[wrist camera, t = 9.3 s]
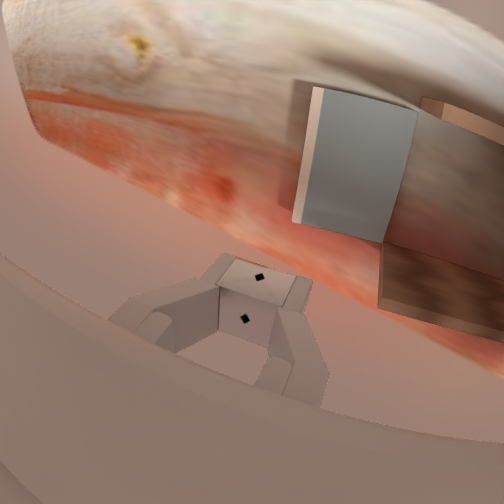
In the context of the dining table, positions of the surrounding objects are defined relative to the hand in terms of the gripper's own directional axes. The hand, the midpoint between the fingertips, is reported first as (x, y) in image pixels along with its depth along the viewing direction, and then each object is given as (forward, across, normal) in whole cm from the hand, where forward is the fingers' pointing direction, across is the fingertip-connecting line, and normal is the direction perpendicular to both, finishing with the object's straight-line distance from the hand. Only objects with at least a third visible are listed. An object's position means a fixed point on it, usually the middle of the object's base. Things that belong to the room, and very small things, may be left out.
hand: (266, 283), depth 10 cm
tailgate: (+18, -6, 0) cm, 19 cm away
